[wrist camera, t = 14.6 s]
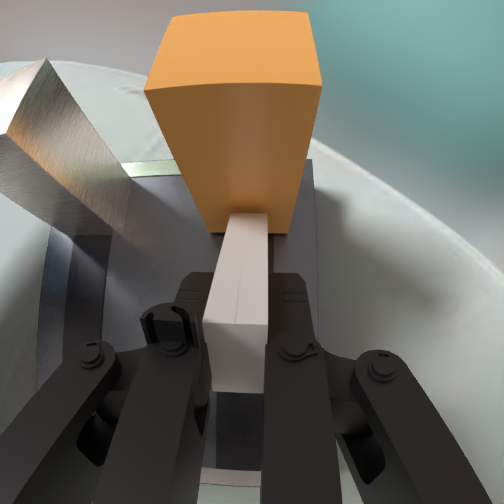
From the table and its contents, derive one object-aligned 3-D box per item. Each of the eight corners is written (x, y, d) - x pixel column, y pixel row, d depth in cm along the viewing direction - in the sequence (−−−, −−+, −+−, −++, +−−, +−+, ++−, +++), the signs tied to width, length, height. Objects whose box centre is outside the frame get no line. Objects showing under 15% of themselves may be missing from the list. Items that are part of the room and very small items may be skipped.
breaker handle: (288, 233, 16) (322, 85, 6) (208, 232, 16) (143, 90, 6) (286, 173, 16) (307, 12, 7) (213, 172, 17) (172, 16, 7)
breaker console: (302, 465, 15) (357, 618, 3) (66, 432, 16) (-77, 475, 3) (305, 183, 20) (347, 9, 7) (85, 188, 20) (-21, 76, 8)
